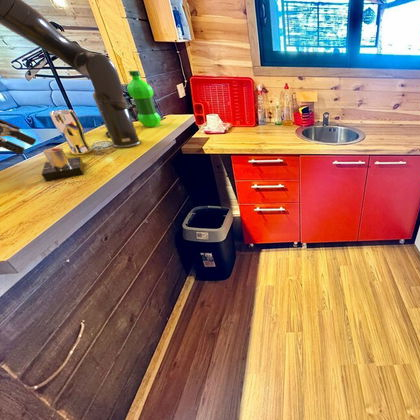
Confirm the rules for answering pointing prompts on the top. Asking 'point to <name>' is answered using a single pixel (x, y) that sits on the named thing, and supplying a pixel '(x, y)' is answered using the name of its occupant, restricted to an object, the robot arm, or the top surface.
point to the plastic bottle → (143, 100)
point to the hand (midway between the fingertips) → (29, 146)
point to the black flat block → (63, 170)
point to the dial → (56, 158)
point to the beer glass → (70, 130)
